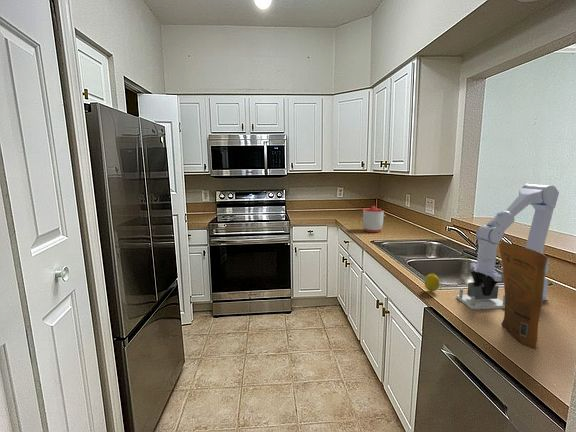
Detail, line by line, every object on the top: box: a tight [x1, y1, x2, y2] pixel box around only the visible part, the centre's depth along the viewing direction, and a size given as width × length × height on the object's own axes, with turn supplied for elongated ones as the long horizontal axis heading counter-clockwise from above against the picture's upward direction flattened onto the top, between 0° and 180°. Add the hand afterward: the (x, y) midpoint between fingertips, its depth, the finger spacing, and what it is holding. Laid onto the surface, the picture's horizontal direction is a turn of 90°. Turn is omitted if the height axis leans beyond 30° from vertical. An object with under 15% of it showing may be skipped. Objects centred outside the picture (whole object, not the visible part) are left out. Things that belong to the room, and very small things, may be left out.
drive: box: [466, 281, 499, 299], centre depth 120 cm, size 9×4×5 cm, turn 94°
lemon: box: [424, 272, 440, 293], centre depth 130 cm, size 6×6×8 cm
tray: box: [456, 288, 505, 310], centre depth 120 cm, size 14×10×4 cm
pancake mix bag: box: [498, 240, 549, 350], centre depth 96 cm, size 7×19×28 cm, turn 173°
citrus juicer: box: [362, 205, 387, 233], centre depth 243 cm, size 16×17×20 cm
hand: (482, 292), depth 120 cm, fingers closed on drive, 4 cm apart
